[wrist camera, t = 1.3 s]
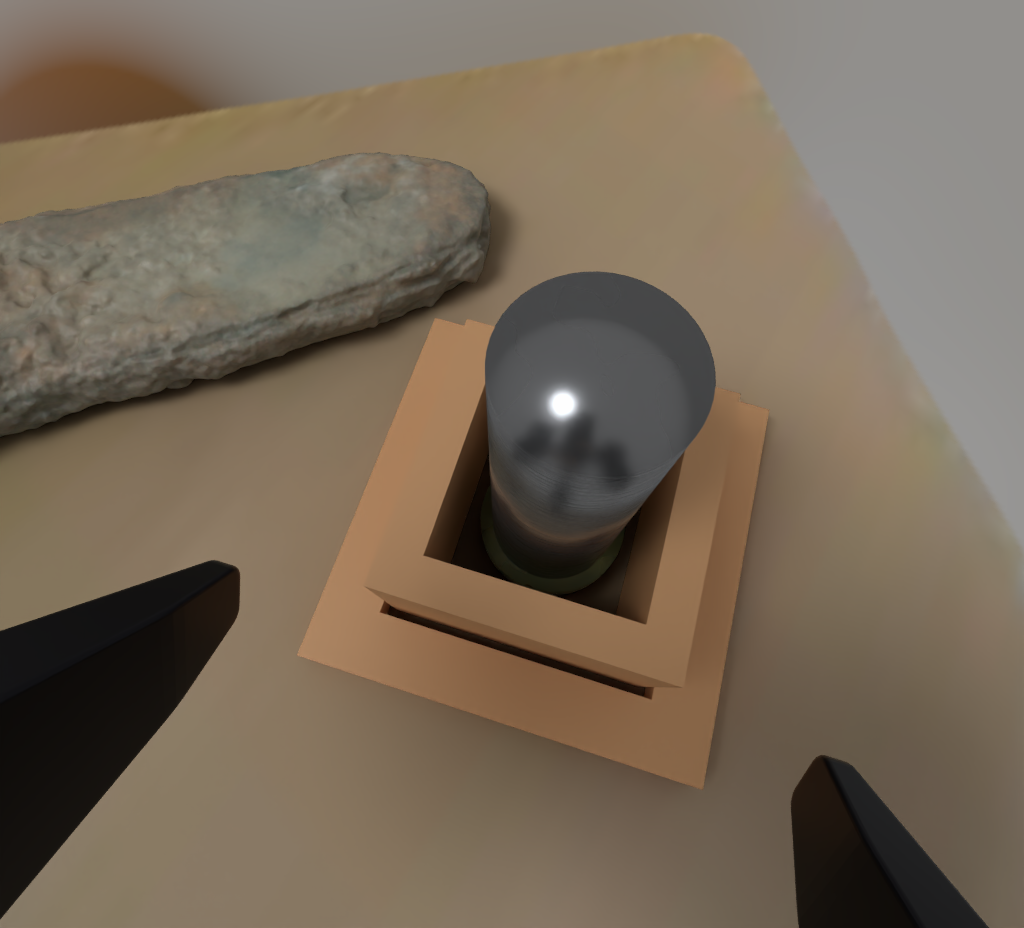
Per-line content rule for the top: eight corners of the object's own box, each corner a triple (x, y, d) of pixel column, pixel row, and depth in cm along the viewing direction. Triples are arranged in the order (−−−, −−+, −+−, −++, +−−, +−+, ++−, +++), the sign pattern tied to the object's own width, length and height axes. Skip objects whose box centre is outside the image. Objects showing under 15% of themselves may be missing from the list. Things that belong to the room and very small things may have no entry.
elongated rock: (526, 344, 26) (458, 184, 30) (537, 256, 21) (454, 79, 25) (-464, 607, 20) (-397, 364, 24) (-762, 567, 15) (-620, 270, 19)
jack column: (598, 616, 20) (711, 538, 9) (463, 573, 21) (422, 452, 10) (630, 487, 22) (758, 291, 11) (505, 450, 22) (508, 227, 11)
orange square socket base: (691, 783, 19) (761, 821, 14) (308, 656, 20) (241, 647, 15) (756, 422, 23) (829, 348, 18) (438, 334, 24) (421, 241, 19)
